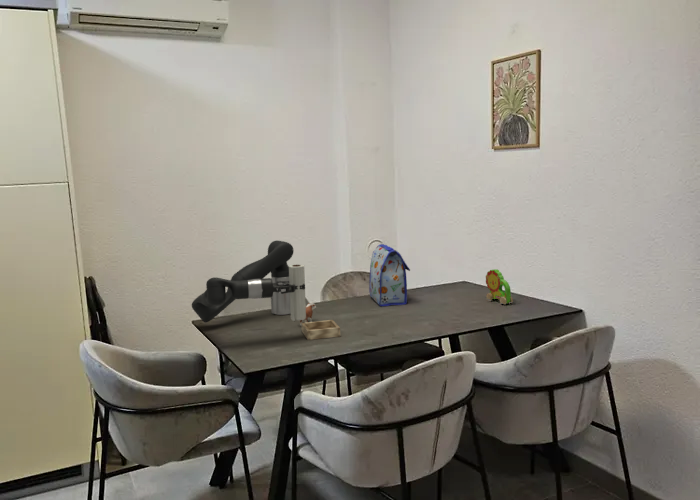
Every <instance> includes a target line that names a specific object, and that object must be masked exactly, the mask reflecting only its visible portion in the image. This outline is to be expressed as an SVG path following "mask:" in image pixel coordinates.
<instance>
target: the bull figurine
mask: <svg viewBox="0 0 700 500" xmlns="http://www.w3.org/2000/svg"><path fill="white" fill-rule="evenodd" d="M314 309H317V306H316V303H314V302H312V301H310V302H308V303H307V305H306V319H303V320H299V323H300V324H299V326H300V327H302V324H301V323H303V322H304V323H308V322H313V321H312V316H313V313H314V312H313V310H314ZM308 318H309V321H308Z"/></svg>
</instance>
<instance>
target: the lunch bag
mask: <svg viewBox="0 0 700 500" xmlns="http://www.w3.org/2000/svg"><path fill="white" fill-rule="evenodd" d="M407 271H409V272H410V271H411V269H410V267H409V266H408V265H407V263H406V260H404V258H403V256H402V254H401V253H400V252H399V251H398V250H396V249H394V248H393V247H391V246H388V245H387V244H385V243H384V244H381V243H380V244H378V245H377V246H376V247H375V249H374V250H373V251H372V254H371V260H370V267H369V292H368V293H369V297H371V298H372V299H373V300H374V301H375V303H376V304H378V305H379V307H388V306H402V305H407V303H408V288H407V287H408V283H407V282H408V281H407Z"/></svg>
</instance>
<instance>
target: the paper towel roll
mask: <svg viewBox="0 0 700 500" xmlns="http://www.w3.org/2000/svg"><path fill="white" fill-rule="evenodd" d="M288 266H289V284H291V285H293V284H294V285H295V286H298V287H297V288H298V289H296V290H295V292H290V312H291V313H290V319H291V321H293V322H295V321H300V320H302V321H303V319H306V306H307V305H306V288H305V289H304V290H303V289H300V286H301V285H303V284H305V285H306V283H305V281H306V280H305V265H304V264H291V265H288ZM301 288H302V287H301ZM290 289H291V287H290Z"/></svg>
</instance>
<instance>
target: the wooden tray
mask: <svg viewBox="0 0 700 500" xmlns="http://www.w3.org/2000/svg"><path fill="white" fill-rule="evenodd" d="M301 324H302V326H301V333H302V334H303V335H304V337H305V338H306V339H307V341H312V340H320V339H329V338H338V337H339V338H340V337H341V327H340V326H339V325H338V323H336V322H335V321H334V319H328V320H327V319H326V320H318V321H312V322H309V321H308V323H307V322H306V323H305V322H302V323H301Z"/></svg>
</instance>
